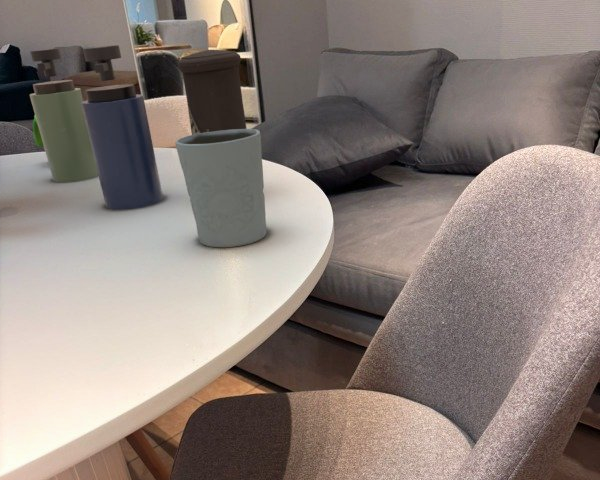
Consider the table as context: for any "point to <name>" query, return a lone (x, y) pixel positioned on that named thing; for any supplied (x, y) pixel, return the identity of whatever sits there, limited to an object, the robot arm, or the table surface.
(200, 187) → the grey-green cup
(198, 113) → the container
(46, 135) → the sage flask
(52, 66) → the sage flask pump
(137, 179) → the navy lidded canister
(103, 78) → the navy flask pump
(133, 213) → the table surface
